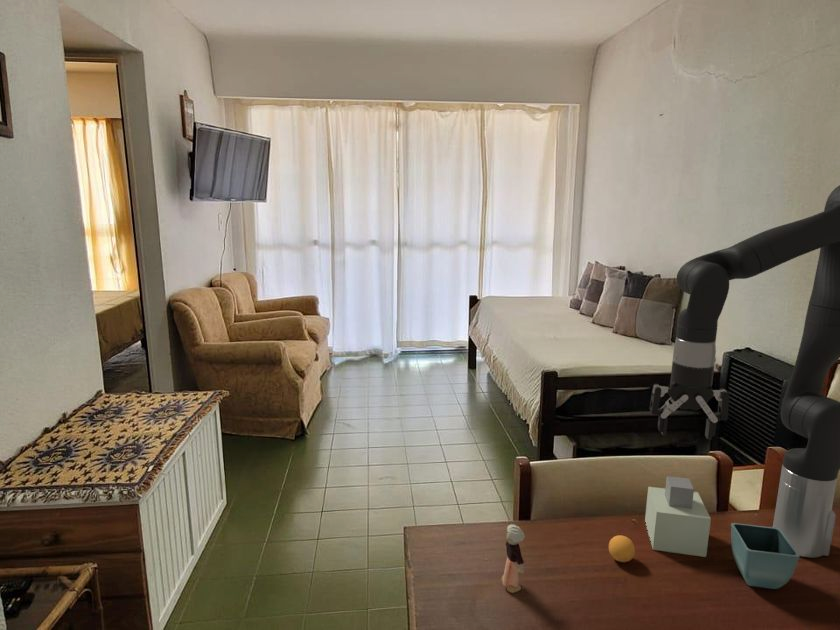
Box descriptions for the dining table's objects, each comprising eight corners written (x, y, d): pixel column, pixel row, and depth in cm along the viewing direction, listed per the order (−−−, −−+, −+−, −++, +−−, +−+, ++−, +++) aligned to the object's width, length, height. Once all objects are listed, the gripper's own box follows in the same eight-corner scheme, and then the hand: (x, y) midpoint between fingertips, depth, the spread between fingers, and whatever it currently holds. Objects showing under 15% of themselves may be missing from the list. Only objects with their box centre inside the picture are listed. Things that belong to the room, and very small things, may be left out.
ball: (632, 553, 110) (634, 532, 109) (635, 569, 106) (637, 547, 105) (606, 550, 112) (608, 528, 111) (609, 565, 107) (610, 543, 106)
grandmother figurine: (492, 576, 104) (494, 517, 101) (509, 570, 105) (511, 513, 103) (514, 602, 97) (517, 541, 94) (532, 596, 99) (535, 535, 96)
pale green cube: (693, 528, 119) (700, 473, 116) (706, 557, 109) (713, 498, 107) (644, 521, 121) (650, 468, 119) (652, 549, 112) (658, 492, 109)
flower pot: (794, 599, 98) (801, 556, 96) (741, 592, 99) (747, 550, 98) (773, 567, 106) (779, 527, 104) (724, 562, 108) (730, 522, 106)
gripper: (726, 357, 109) (717, 431, 112) (652, 353, 112) (645, 425, 116) (738, 368, 102) (729, 447, 105) (658, 363, 105) (651, 440, 108)
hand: (685, 435), depth 110 cm, fingers open, 8 cm apart
